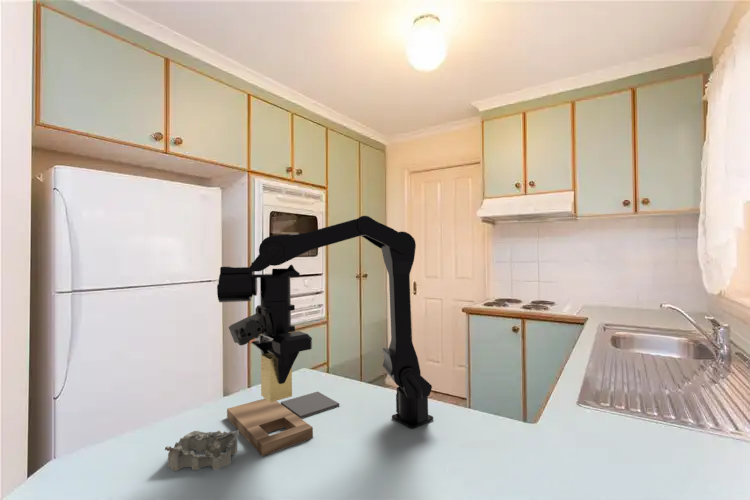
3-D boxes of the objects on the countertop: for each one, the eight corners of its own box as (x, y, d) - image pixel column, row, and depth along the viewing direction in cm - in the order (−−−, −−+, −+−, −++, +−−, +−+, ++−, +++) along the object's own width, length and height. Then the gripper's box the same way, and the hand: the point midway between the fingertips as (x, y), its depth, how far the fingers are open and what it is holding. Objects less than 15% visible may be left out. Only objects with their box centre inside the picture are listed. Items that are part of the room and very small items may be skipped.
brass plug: (292, 396, 70) (291, 355, 70) (270, 402, 67) (269, 359, 68) (282, 390, 74) (281, 350, 74) (261, 395, 71) (260, 354, 71)
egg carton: (160, 473, 59) (160, 448, 60) (185, 448, 67) (185, 426, 67) (225, 472, 59) (224, 447, 59) (242, 448, 67) (242, 425, 67)
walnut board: (312, 437, 70) (312, 427, 70) (262, 456, 63) (262, 444, 63) (271, 405, 85) (270, 396, 85) (227, 417, 79) (227, 408, 79)
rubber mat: (339, 406, 84) (339, 403, 84) (300, 418, 78) (300, 415, 78) (317, 393, 92) (317, 391, 92) (280, 404, 86) (280, 401, 86)
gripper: (218, 299, 73) (219, 377, 73) (252, 309, 59) (253, 406, 58) (271, 295, 80) (272, 366, 80) (313, 303, 66) (314, 389, 65)
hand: (276, 380), depth 71 cm, fingers closed on brass plug, 4 cm apart
